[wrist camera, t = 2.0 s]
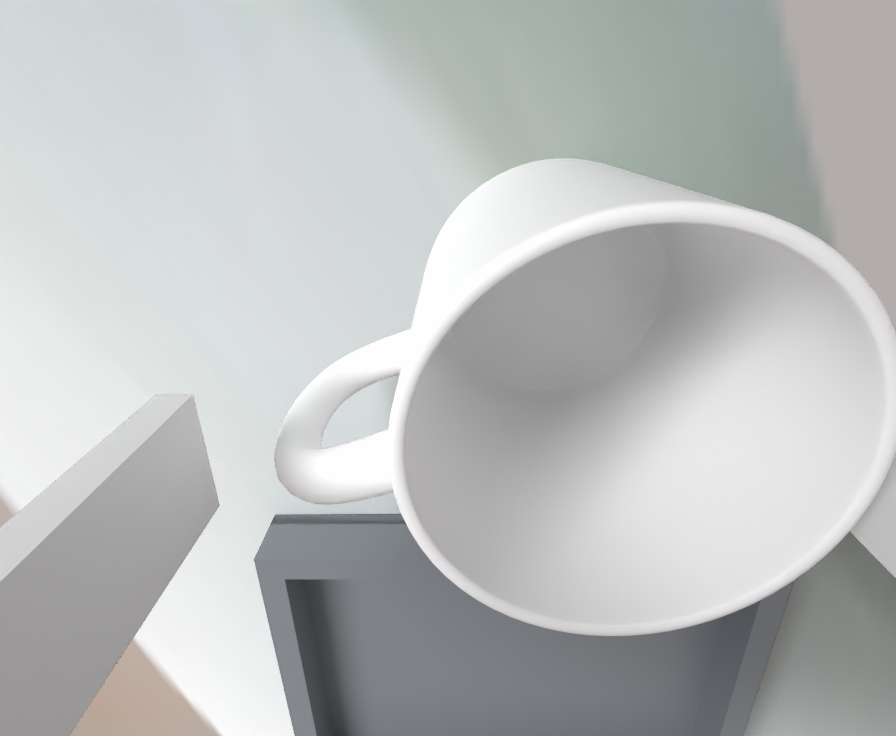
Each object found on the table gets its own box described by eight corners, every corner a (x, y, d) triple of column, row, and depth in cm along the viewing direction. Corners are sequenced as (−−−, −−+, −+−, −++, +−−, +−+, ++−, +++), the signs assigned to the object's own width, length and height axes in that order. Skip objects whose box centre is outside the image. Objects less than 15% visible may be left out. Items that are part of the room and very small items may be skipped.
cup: (688, 364, 19) (899, 591, 10) (372, 443, 21) (301, 700, 12) (655, 117, 16) (925, 115, 7) (284, 236, 18) (86, 365, 8)
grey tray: (275, 514, 22) (254, 559, 20) (765, 512, 22) (801, 558, 19) (320, 738, 29) (307, 792, 26) (701, 742, 28) (722, 797, 26)
